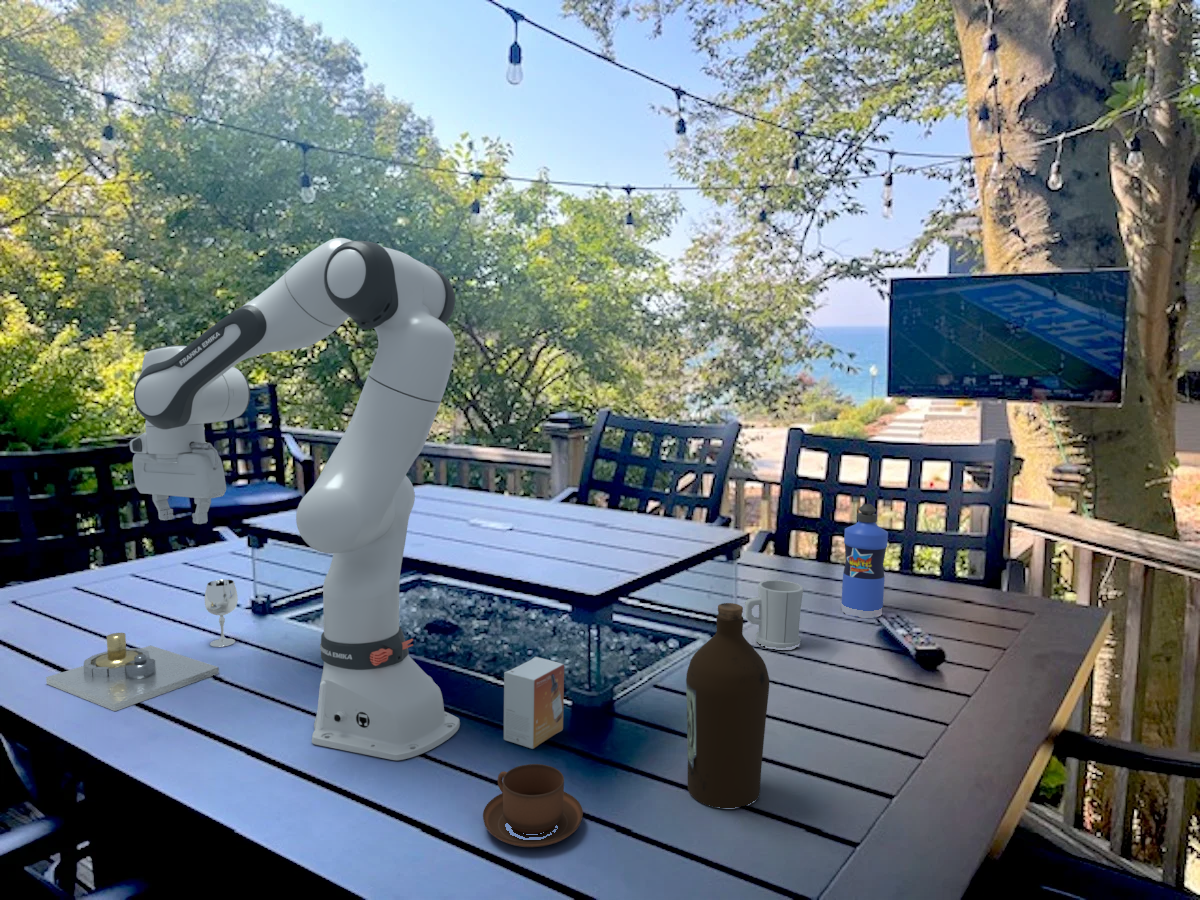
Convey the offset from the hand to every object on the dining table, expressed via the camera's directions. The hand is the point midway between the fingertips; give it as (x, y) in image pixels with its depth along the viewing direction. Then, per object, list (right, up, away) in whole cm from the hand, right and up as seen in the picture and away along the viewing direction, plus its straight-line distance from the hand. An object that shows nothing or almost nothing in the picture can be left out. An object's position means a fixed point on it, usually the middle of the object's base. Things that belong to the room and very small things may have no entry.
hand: (183, 521), depth 139 cm
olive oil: (+88, -33, -33) cm, 100 cm away
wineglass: (-1, -25, +18) cm, 31 cm away
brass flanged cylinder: (-12, -26, +2) cm, 28 cm away
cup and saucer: (+64, -34, -41) cm, 83 cm away
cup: (+107, -27, +23) cm, 113 cm away
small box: (+62, -31, -18) cm, 71 cm away
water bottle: (+132, -25, +45) cm, 142 cm away
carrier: (-8, -27, 0) cm, 28 cm away
